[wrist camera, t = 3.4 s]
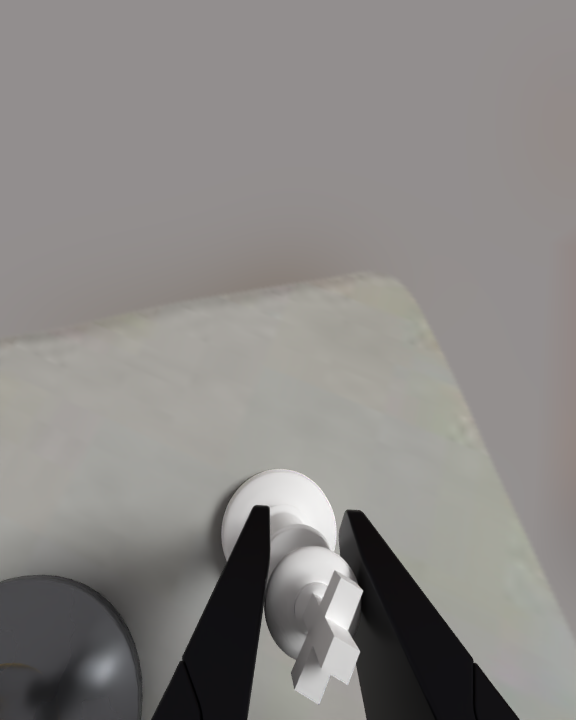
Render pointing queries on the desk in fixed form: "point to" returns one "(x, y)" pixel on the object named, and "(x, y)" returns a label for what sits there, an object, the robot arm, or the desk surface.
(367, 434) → the desk surface
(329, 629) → the chess piece
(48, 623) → the carrier plate
